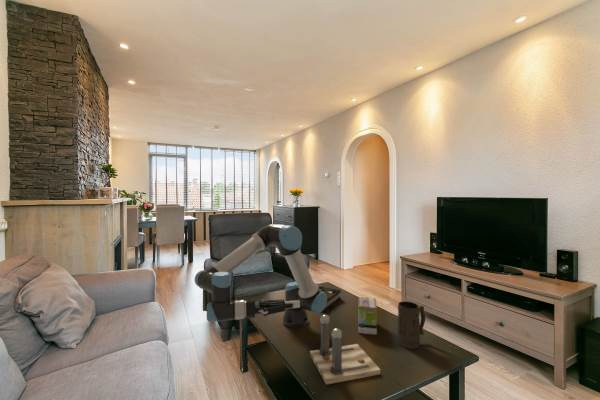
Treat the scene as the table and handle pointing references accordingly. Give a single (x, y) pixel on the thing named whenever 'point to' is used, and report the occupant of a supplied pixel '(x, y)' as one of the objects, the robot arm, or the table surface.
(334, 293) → the decorative book
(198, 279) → the robot arm
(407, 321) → the beer stein
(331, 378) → the switch panel
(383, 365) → the table surface
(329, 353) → the grey lever
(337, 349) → the grey rounded post
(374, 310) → the tea box
